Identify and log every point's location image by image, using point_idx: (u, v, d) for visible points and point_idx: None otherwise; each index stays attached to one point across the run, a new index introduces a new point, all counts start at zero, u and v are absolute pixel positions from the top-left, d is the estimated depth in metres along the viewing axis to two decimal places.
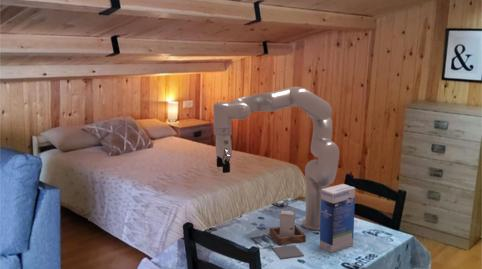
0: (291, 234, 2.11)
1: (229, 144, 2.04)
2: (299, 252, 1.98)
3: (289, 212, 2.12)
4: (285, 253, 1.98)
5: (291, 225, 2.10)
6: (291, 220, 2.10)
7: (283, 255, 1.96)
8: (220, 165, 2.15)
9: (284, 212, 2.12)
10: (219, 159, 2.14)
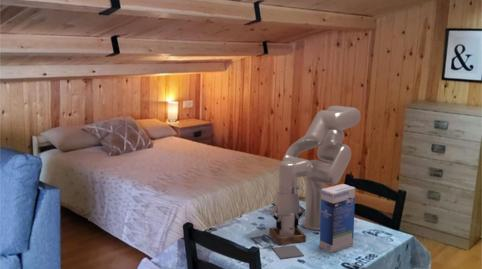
0: (291, 234, 2.11)
1: None
2: (299, 252, 1.98)
3: None
4: (285, 253, 1.98)
5: (291, 225, 2.10)
6: (291, 220, 2.10)
7: (283, 255, 1.96)
8: None
9: None
10: None
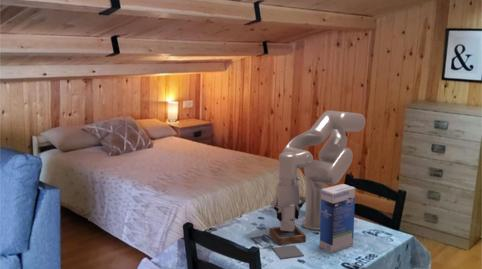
0: (292, 225, 2.11)
1: None
2: (299, 252, 1.98)
3: None
4: (285, 253, 1.98)
5: (291, 216, 2.10)
6: (291, 211, 2.10)
7: (283, 255, 1.96)
8: None
9: None
10: None
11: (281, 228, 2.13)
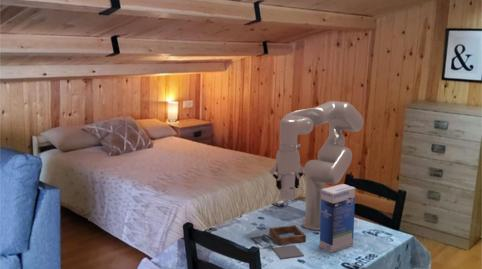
0: (291, 194, 2.05)
1: None
2: (299, 252, 1.98)
3: None
4: (285, 253, 1.98)
5: (291, 184, 2.04)
6: (291, 179, 2.04)
7: (283, 255, 1.96)
8: None
9: None
10: None
11: (280, 197, 2.07)
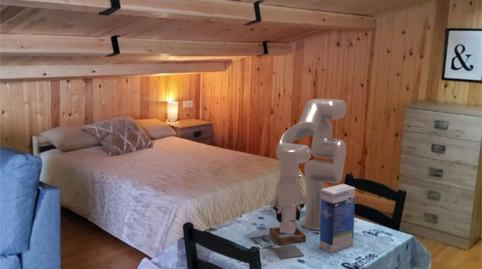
0: (292, 227, 1.94)
1: None
2: (299, 252, 1.98)
3: None
4: (285, 253, 1.98)
5: (292, 217, 1.94)
6: (292, 211, 1.93)
7: (283, 255, 1.96)
8: None
9: None
10: None
11: (281, 230, 1.96)
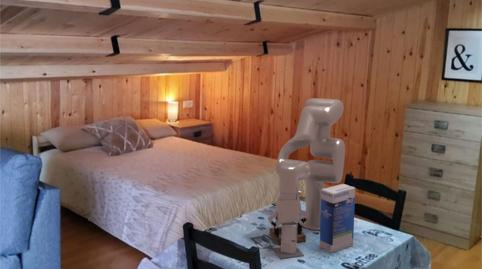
0: (293, 247, 1.97)
1: None
2: (299, 252, 1.98)
3: (291, 223, 1.97)
4: (285, 253, 1.98)
5: (293, 237, 1.96)
6: (293, 232, 1.96)
7: (283, 255, 1.96)
8: None
9: (286, 223, 1.98)
10: None
11: (282, 250, 1.98)
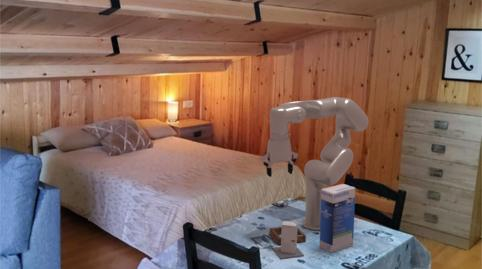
0: (293, 247, 1.97)
1: None
2: (299, 252, 1.98)
3: (291, 223, 1.97)
4: (285, 253, 1.98)
5: (293, 237, 1.96)
6: (293, 232, 1.96)
7: (283, 255, 1.96)
8: None
9: (286, 223, 1.98)
10: None
11: (282, 250, 1.98)
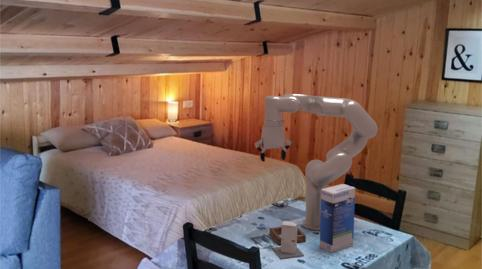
0: (293, 247, 1.97)
1: None
2: (299, 252, 1.98)
3: (291, 223, 1.97)
4: (285, 253, 1.98)
5: (293, 237, 1.96)
6: (293, 232, 1.96)
7: (283, 255, 1.96)
8: None
9: (286, 223, 1.98)
10: None
11: (282, 250, 1.98)
